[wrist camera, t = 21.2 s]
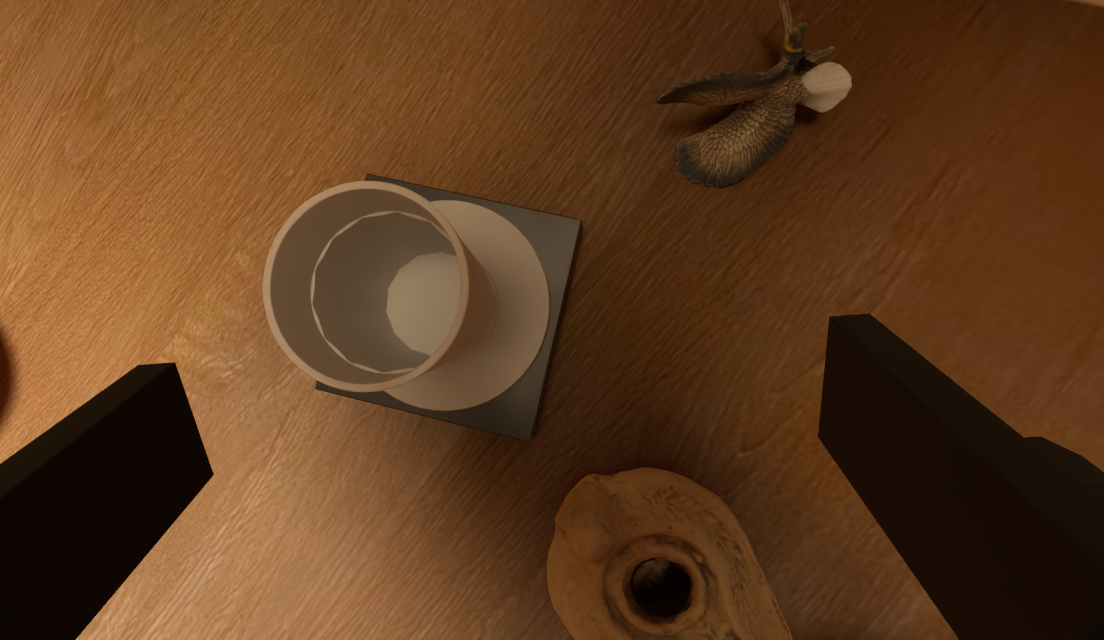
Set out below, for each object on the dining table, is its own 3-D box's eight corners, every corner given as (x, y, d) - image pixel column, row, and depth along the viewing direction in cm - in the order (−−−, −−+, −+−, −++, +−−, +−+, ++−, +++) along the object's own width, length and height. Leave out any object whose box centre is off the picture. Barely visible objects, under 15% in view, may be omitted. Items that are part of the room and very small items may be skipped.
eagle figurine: (733, -1, 37) (625, 94, 35) (833, -29, 30) (706, 85, 29) (781, 110, 40) (685, 200, 39) (879, 105, 34) (769, 212, 33)
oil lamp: (739, 715, 36) (778, 820, 28) (514, 582, 37) (491, 646, 29) (830, 549, 36) (895, 607, 28) (602, 422, 37) (602, 443, 29)
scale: (583, 227, 38) (581, 217, 35) (534, 436, 38) (528, 444, 35) (374, 182, 39) (355, 168, 36) (326, 384, 39) (303, 388, 36)
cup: (354, 344, 36) (230, 343, 24) (407, 215, 36) (310, 149, 24) (481, 397, 35) (420, 425, 23) (535, 266, 35) (501, 225, 23)
